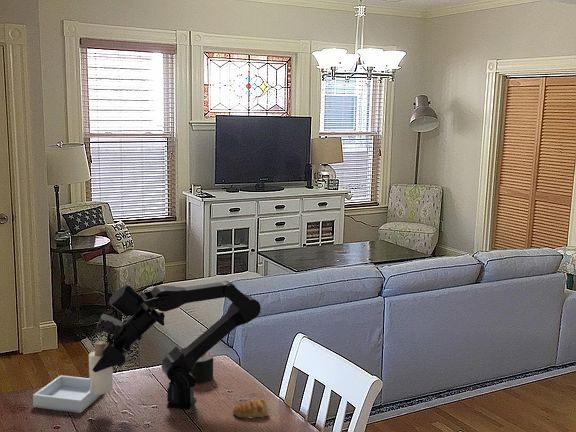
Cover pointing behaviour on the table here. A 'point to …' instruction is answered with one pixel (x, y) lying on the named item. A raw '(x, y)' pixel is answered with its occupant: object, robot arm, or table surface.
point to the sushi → (203, 368)
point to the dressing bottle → (99, 372)
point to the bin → (65, 394)
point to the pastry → (251, 409)
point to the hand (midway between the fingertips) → (95, 366)
